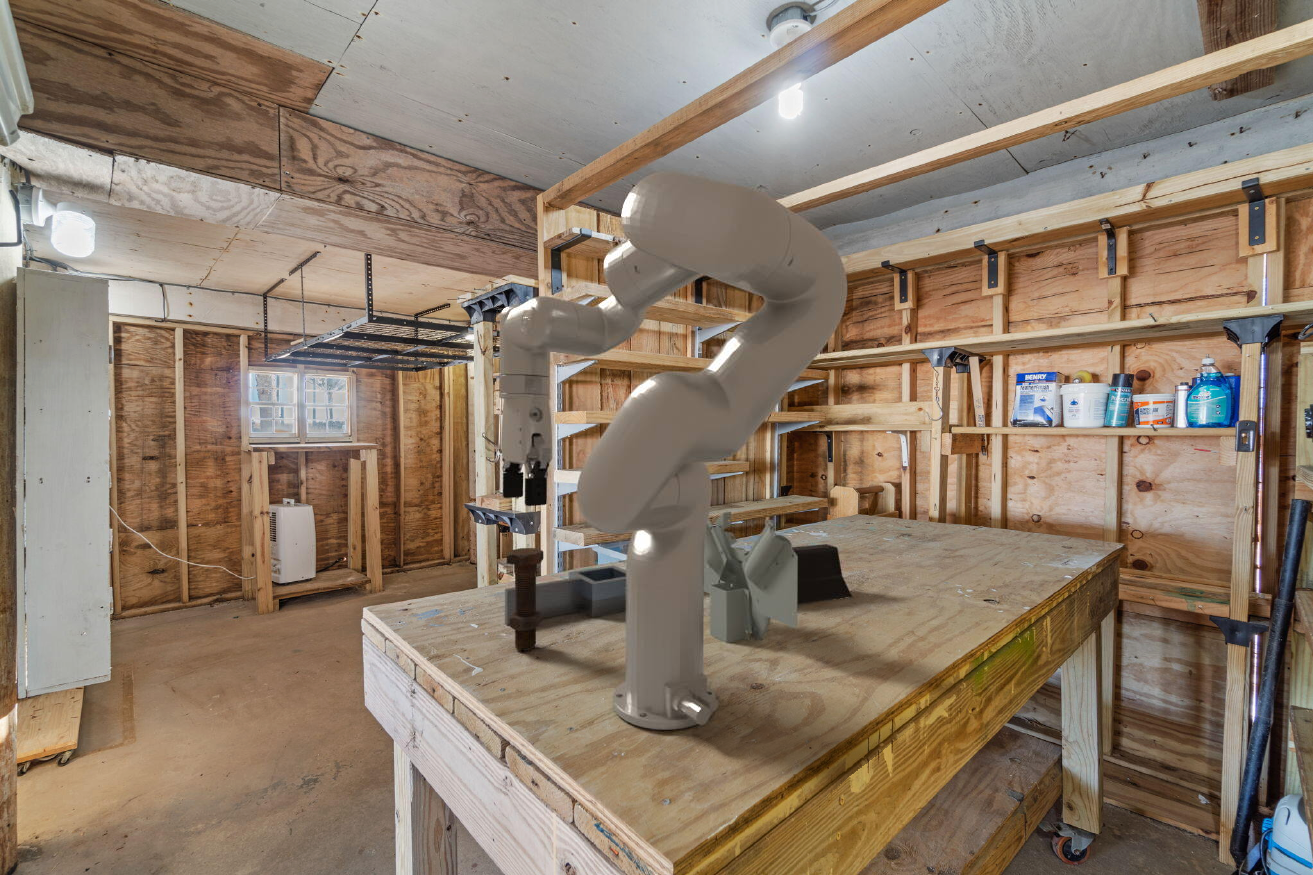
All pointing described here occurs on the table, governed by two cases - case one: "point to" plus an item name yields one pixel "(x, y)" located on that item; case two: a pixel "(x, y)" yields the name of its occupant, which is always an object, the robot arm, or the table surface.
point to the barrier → (819, 574)
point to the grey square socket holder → (578, 594)
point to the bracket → (749, 582)
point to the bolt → (525, 596)
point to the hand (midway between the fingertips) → (523, 501)
